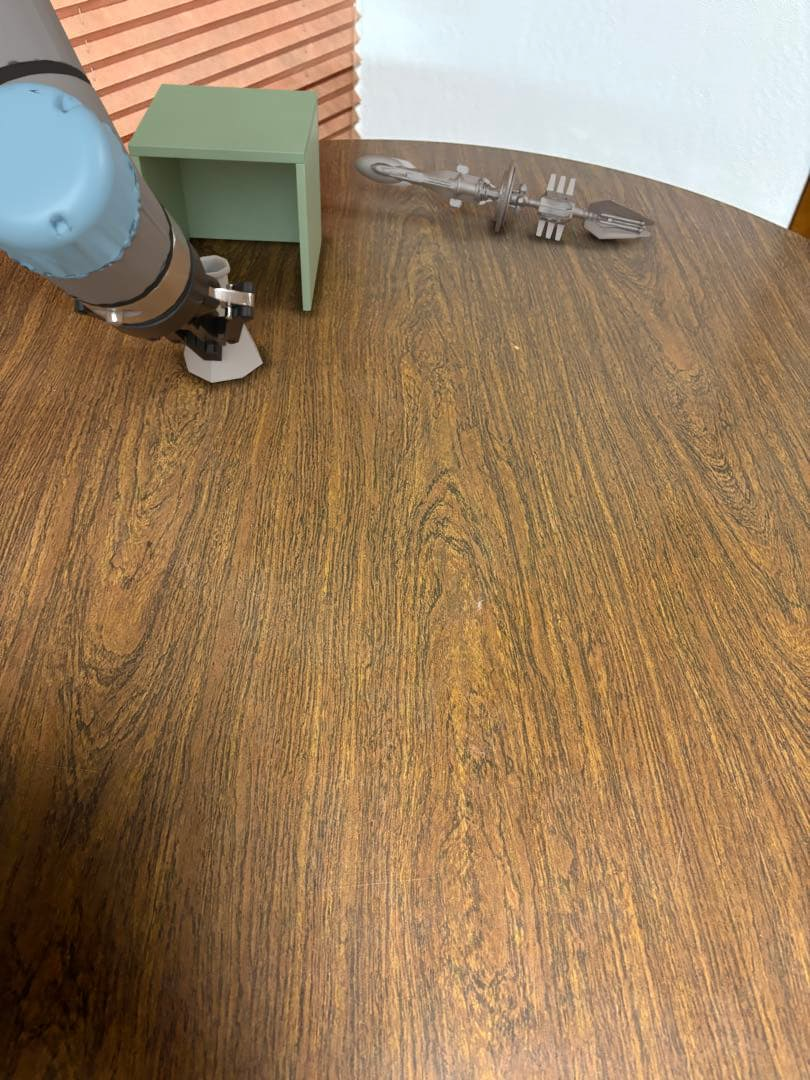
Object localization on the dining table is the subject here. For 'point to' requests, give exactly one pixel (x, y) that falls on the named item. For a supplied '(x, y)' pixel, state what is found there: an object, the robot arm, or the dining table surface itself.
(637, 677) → the dining table surface
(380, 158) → the spaceship
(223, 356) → the flask
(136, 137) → the green open shelf box
